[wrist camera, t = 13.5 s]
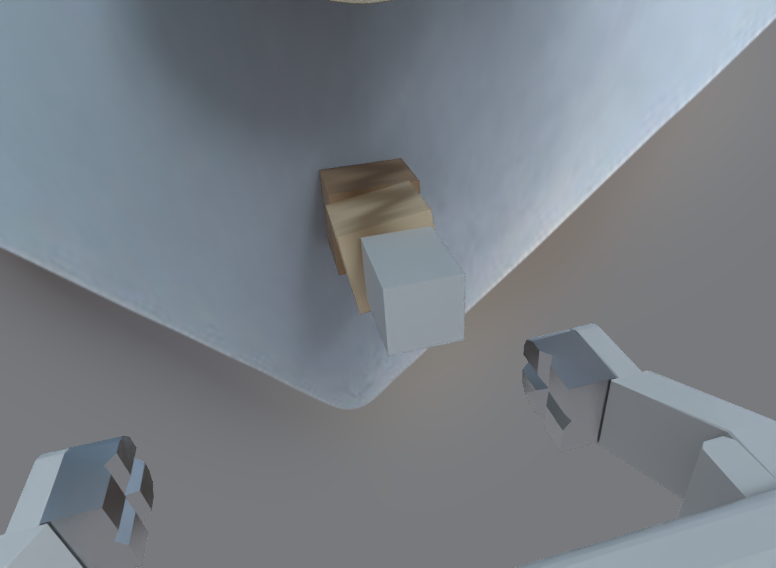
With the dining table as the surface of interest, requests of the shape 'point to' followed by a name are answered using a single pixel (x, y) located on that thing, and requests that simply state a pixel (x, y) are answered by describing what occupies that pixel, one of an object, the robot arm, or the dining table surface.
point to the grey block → (413, 289)
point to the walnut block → (359, 188)
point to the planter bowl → (360, 1)
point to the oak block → (374, 226)
